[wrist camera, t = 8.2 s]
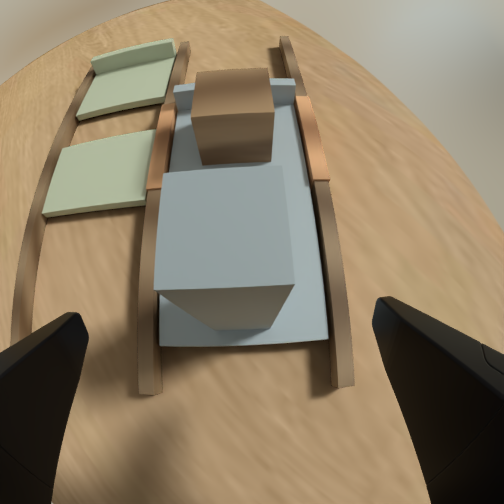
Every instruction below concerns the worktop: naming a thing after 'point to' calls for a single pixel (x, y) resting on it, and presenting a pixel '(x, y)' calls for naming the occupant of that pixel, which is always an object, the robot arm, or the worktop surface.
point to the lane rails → (158, 165)
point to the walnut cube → (233, 116)
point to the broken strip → (117, 147)
